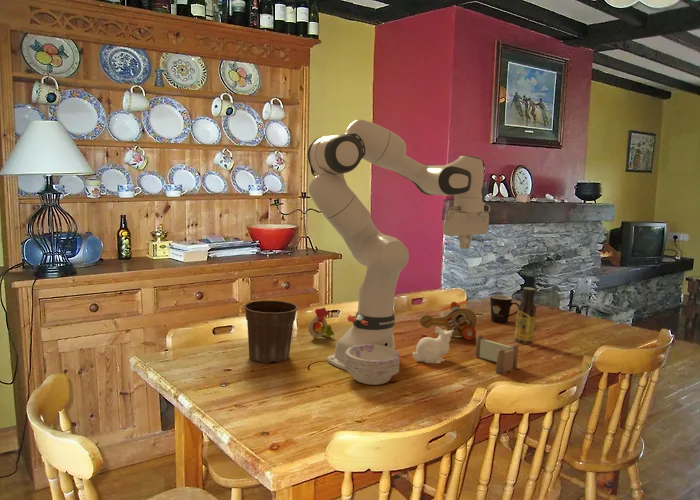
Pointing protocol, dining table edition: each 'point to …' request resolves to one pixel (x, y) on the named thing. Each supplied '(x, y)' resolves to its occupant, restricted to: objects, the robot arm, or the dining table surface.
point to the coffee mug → (501, 308)
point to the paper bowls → (372, 363)
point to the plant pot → (270, 329)
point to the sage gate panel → (488, 348)
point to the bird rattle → (317, 327)
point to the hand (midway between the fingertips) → (464, 248)
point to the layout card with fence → (506, 359)
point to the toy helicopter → (453, 321)
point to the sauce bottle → (525, 317)
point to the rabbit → (433, 347)
